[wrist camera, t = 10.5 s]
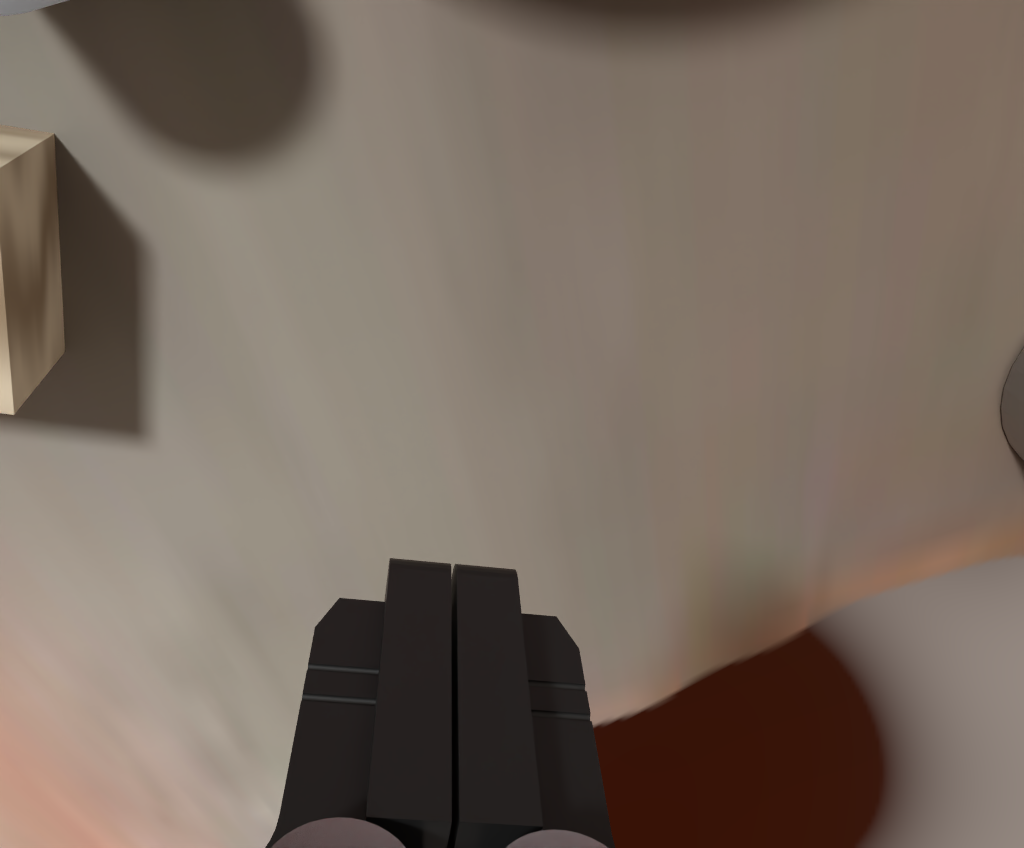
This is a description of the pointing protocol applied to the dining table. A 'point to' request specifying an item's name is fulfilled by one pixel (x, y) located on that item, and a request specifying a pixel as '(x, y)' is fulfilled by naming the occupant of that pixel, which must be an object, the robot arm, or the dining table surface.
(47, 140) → the block
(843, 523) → the dining table surface
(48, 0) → the white rounded cylinder
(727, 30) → the dining table surface
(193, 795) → the dining table surface
